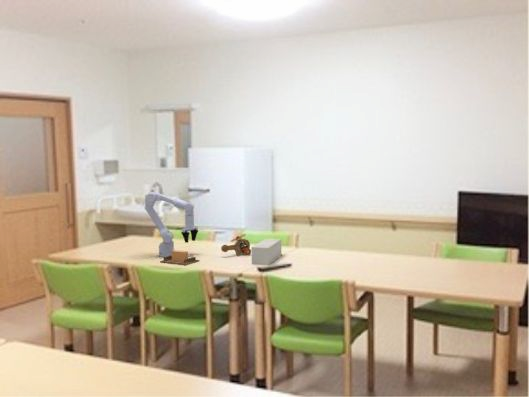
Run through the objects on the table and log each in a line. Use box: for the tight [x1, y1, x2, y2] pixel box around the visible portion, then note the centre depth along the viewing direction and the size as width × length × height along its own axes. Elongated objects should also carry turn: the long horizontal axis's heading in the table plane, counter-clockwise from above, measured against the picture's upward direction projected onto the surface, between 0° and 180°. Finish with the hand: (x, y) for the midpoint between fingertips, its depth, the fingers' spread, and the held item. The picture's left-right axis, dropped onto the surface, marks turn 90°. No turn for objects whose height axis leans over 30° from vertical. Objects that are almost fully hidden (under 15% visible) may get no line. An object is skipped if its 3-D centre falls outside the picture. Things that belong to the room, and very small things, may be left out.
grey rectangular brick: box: [251, 238, 283, 266], centre depth 358 cm, size 32×11×11 cm, turn 164°
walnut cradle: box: [159, 255, 200, 267], centre depth 354 cm, size 20×14×3 cm
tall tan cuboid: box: [172, 249, 189, 262], centre depth 354 cm, size 10×4×6 cm, turn 61°
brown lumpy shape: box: [220, 234, 252, 257], centre depth 370 cm, size 8×21×14 cm, turn 122°
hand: (190, 241), depth 372 cm, fingers open, 7 cm apart
